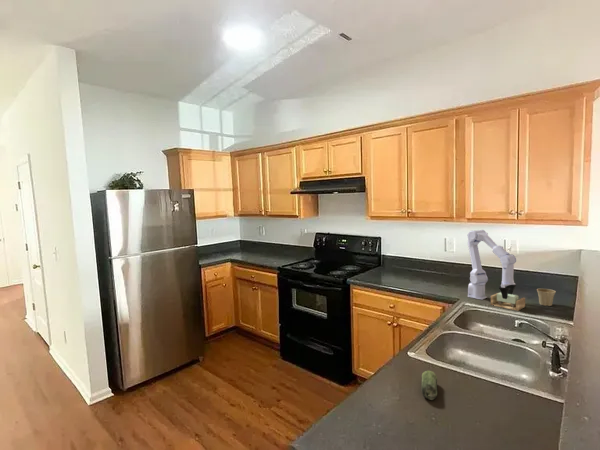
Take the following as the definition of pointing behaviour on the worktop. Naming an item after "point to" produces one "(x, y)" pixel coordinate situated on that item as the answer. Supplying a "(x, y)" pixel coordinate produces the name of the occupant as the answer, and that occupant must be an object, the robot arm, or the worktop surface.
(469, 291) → the robot arm
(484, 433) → the worktop surface
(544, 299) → the flower pot
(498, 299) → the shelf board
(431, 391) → the vegetable
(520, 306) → the peg cradle
